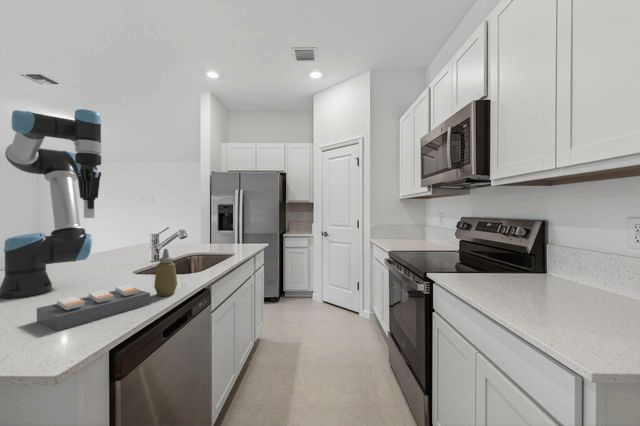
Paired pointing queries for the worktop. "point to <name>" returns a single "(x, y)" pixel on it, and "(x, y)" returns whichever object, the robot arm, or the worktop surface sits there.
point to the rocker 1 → (70, 303)
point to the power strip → (90, 310)
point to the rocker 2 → (127, 290)
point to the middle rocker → (101, 296)
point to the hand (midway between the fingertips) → (89, 217)
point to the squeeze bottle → (165, 276)
